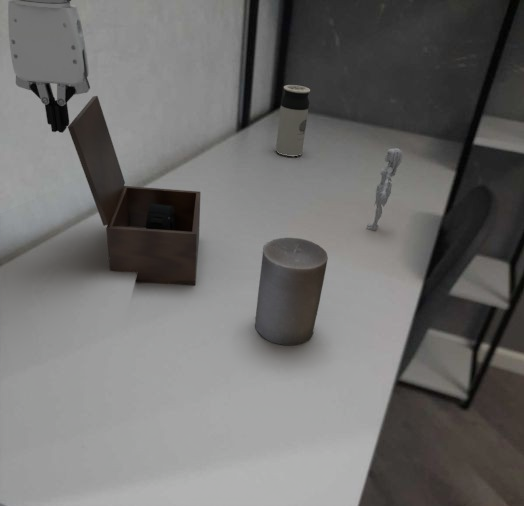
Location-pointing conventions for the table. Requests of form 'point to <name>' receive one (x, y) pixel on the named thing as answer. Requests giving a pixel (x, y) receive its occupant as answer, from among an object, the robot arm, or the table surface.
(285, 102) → the travel mug
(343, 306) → the table surface
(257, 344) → the table surface
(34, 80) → the robot arm
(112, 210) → the lid
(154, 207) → the tape measure
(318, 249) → the pillar candle
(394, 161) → the human figurine
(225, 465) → the table surface
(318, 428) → the table surface
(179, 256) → the desk box
